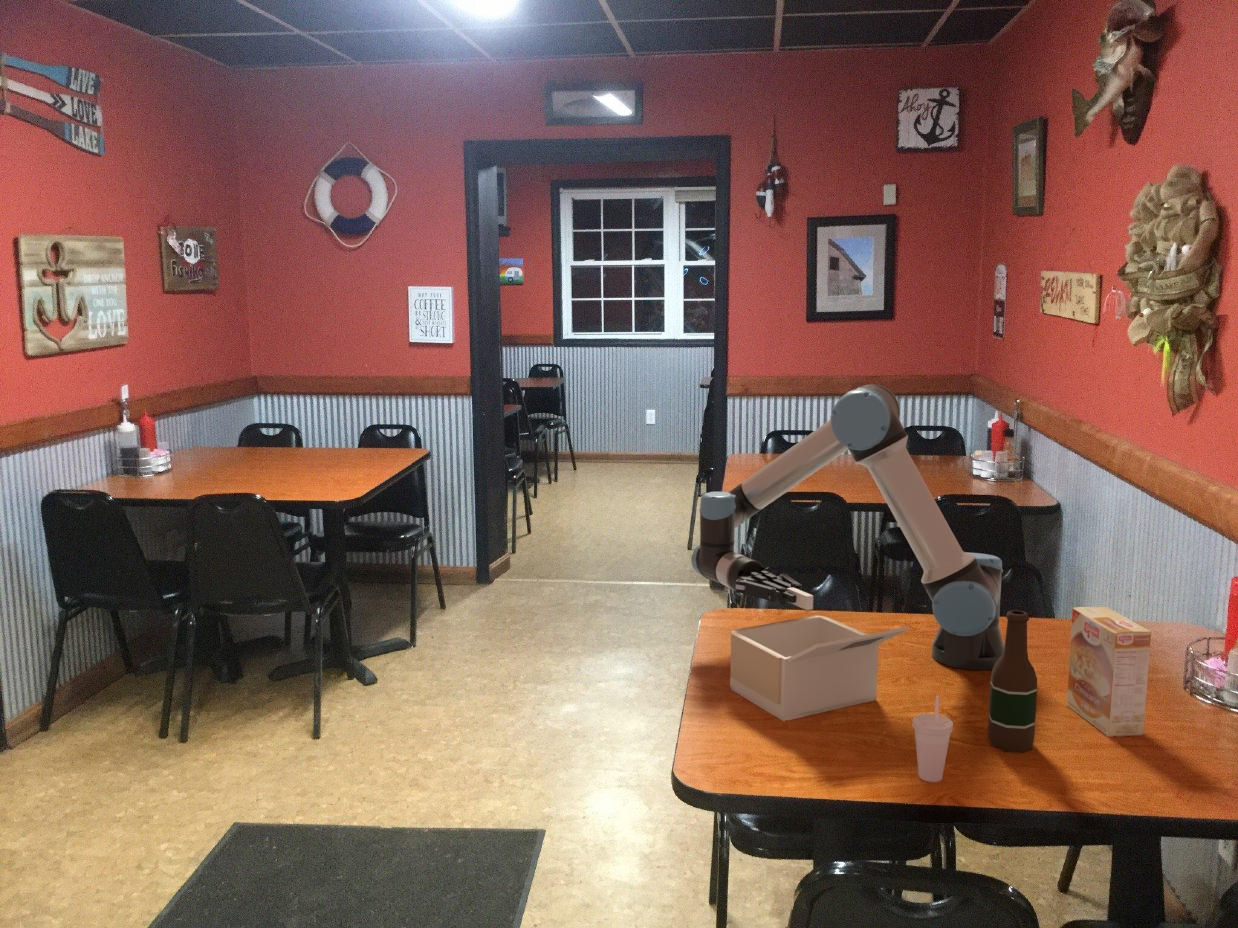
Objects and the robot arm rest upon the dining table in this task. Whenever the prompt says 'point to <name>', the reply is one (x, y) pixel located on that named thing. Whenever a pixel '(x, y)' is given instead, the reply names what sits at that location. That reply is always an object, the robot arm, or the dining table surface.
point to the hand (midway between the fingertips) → (809, 602)
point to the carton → (801, 668)
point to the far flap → (847, 644)
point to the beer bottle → (1013, 691)
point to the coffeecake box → (1108, 670)
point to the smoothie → (932, 743)
